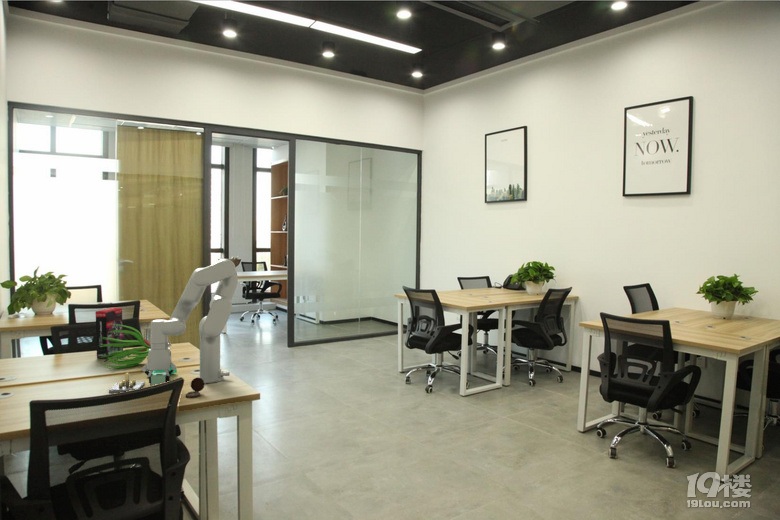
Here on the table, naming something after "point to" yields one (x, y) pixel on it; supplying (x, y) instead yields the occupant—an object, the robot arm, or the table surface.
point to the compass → (196, 388)
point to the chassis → (126, 385)
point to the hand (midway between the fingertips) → (159, 383)
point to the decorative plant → (128, 350)
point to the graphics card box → (108, 330)
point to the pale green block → (158, 378)
